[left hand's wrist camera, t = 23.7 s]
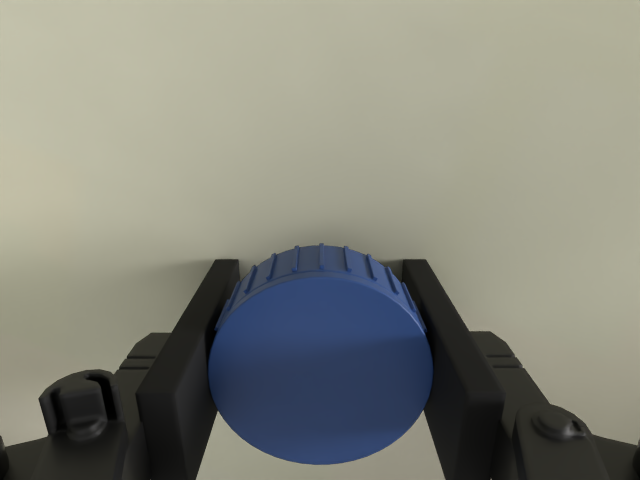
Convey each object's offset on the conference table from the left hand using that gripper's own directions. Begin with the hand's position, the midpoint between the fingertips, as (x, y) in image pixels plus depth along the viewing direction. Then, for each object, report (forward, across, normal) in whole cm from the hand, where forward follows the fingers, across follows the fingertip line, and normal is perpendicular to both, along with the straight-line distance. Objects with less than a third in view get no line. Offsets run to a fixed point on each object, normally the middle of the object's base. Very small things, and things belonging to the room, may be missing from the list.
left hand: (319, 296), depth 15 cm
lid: (-4, 0, 0) cm, 4 cm away
